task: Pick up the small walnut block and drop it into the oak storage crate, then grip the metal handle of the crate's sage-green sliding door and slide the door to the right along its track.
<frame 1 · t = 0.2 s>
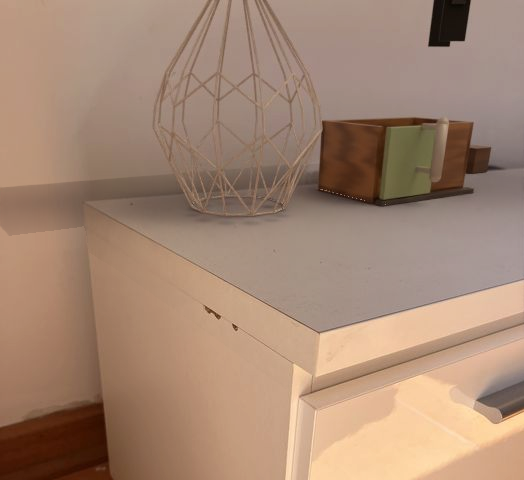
hand: (444, 44, 68), 18 cm above the table, tool pointing down, fingers open, 13 cm apart
sliding door: (420, 162, 69), point 5 cm above the table, slide at 0.0 cm
crate: (390, 190, 79), on the table
table lamp: (237, 207, 69), on the table
block: (469, 171, 97), on the table
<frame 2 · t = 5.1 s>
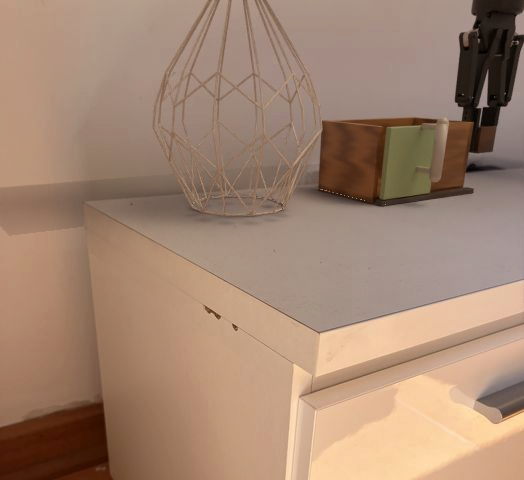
hand: (475, 149, 95), 4 cm above the table, tool pointing down, fingers closed on block, 4 cm apart
block: (475, 151, 95), point 3 cm above the table, touching gripper
everything else where it was.
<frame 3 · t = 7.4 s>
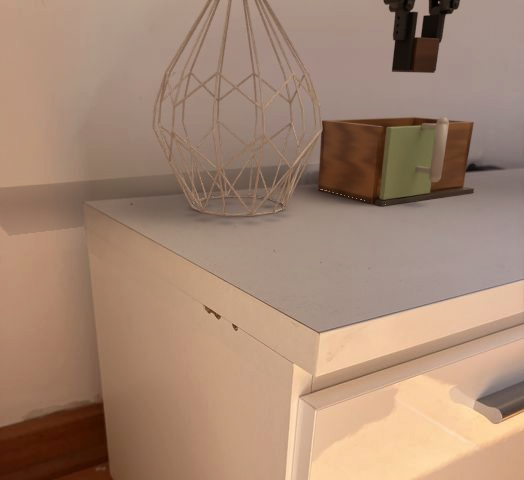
hand: (413, 69, 76), 15 cm above the table, tool pointing down, fingers closed on block, 4 cm apart
block: (412, 72, 76), point 15 cm above the table, touching gripper
everything else where it was.
when the fingers open (7 cm above the table, at t = 9.9 s): block drops 6 cm, resting on crate.
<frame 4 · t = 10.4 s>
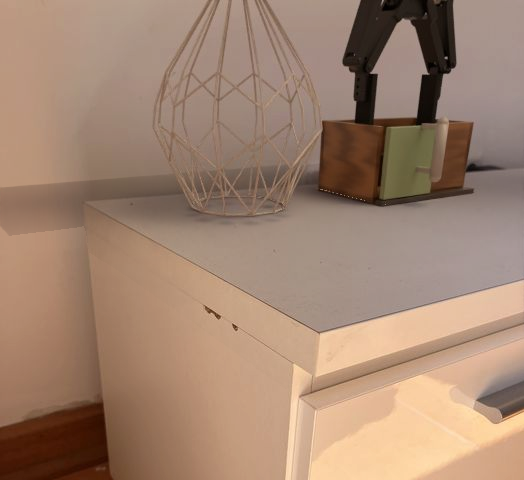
hand: (395, 128, 76), 8 cm above the table, tool pointing down, fingers open, 11 cm apart
block: (387, 183, 79), point 1 cm above the table, touching crate
everything else where it was.
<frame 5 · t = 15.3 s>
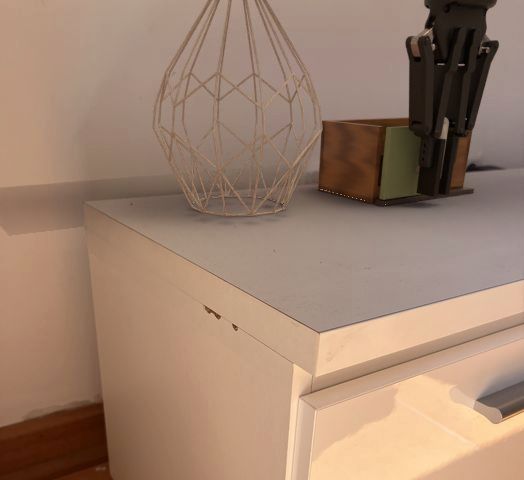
hand: (432, 193, 70), 1 cm above the table, tool pointing down, fingers closed on sliding door, 1 cm apart
sliding door: (420, 162, 69), point 5 cm above the table, slide at 0.0 cm, touching gripper
everything else where it was.
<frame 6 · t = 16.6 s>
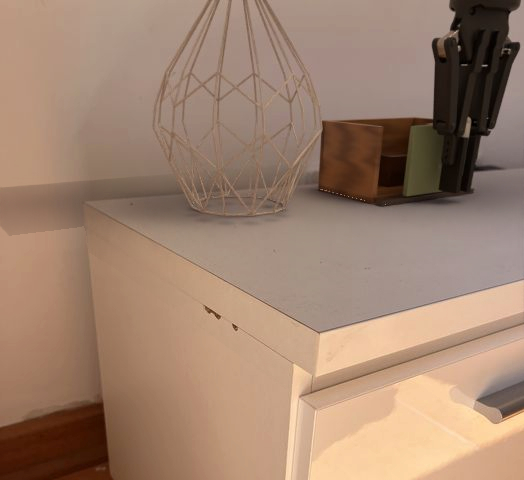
hand: (454, 190, 72), 1 cm above the table, tool pointing down, fingers closed on sliding door, 1 cm apart
sliding door: (442, 160, 71), point 5 cm above the table, slide at 4.1 cm, touching gripper
everything else where it was.
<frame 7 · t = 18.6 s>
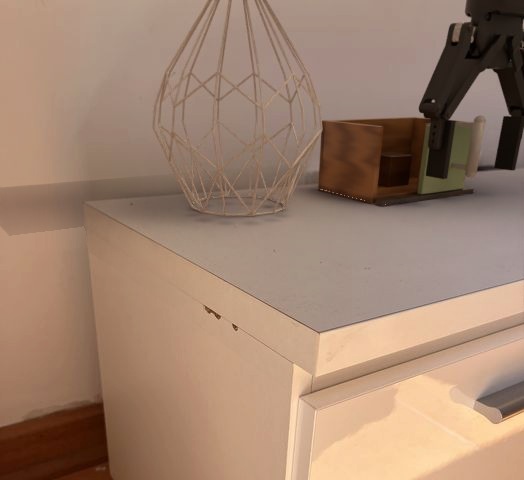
hand: (471, 173, 73), 3 cm above the table, tool pointing down, fingers open, 13 cm apart
sliding door: (457, 159, 72), point 5 cm above the table, slide at 6.8 cm
everything else where it was.
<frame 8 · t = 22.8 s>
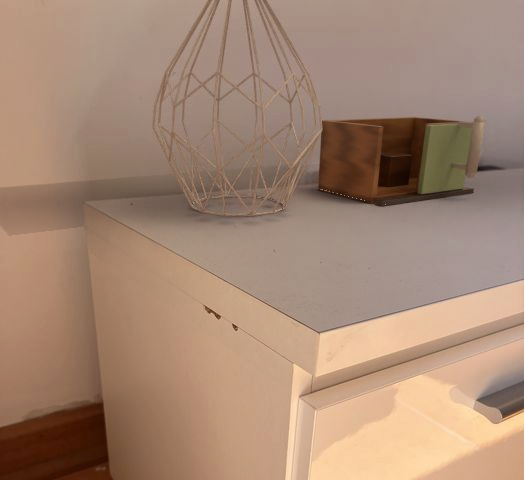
nothing on the table moved.
at the end: block inside the target area on the crate (0.6 cm from its centre), point 0.8 cm above the crate's base; sliding door slide at 6.8 cm; the gripper is holding nothing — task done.
